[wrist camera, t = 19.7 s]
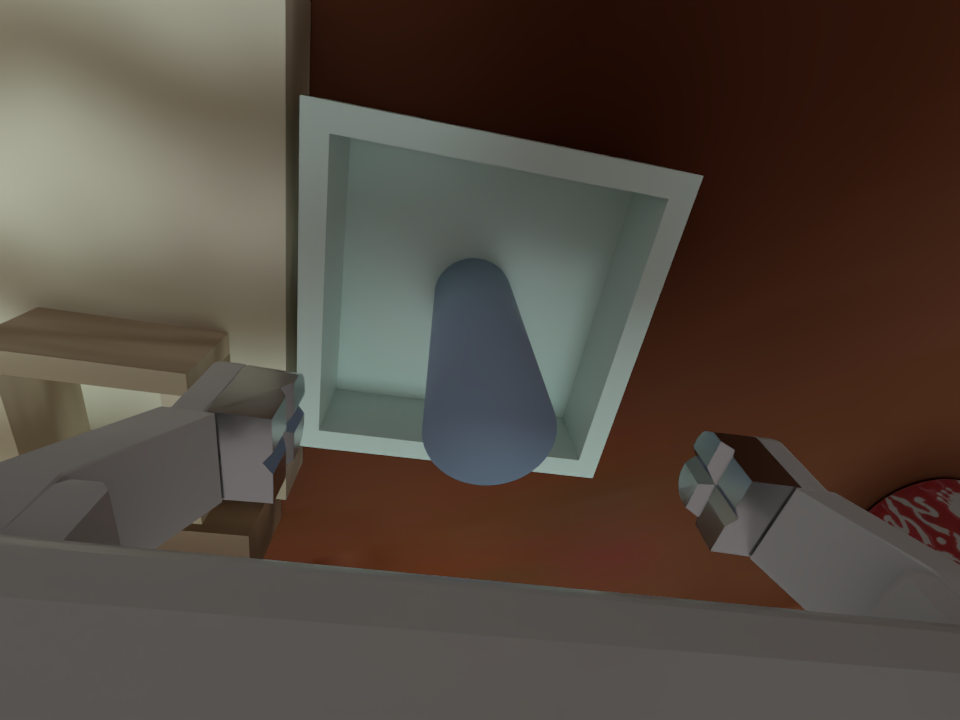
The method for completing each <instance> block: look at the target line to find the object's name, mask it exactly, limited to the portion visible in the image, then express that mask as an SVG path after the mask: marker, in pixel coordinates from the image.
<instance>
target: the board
mask: <svg viewBox="0 0 960 720" xmlns="http://www.w3.org/2000/svg"><path fill="white" fill-rule="evenodd" d="M310 31H311V1H310V0H0V462H1V461H4V460H7V459H10V458H13V457H16V456H19V455H22V454H25V453H27V452H30V451H33V450H36V449H39V448H42V447H45V446H48V445H51V444H54V443H56V442H59V441H62V440H65V439H68V438H71V437H74V436H77V435H80V434H82V433H85V432H88V431H91V430H94V429H97V428H100V427H103V426H106V425H108V424H111V423H114V422H117V421H120V420H123V419H126V418H129V417H132V416H135V415H137V414H140V413H143V412H146V411H149V410H152V409H155V408H158V407H161V406H164V407H172V406H173V405H174V404H175V402H176V401H177V400H178V399H179V398H180V397H181V396H182V395H183V394H184V393H185V392H186V391H187V390H188V389H189V388H190V387H191V386H192V385H193V384H194V383H195V382H196V381H197V380H198V379H199V378H200V377H201V376H202V375H203V374H204V373H205V372H206V371H207V370H208V369H209V367H210V366H211V365H212V364H213V363H215V362H218V361H224V362H232V363H240V364H246V365H252V366H258V367H264V368H271V369H277V370H283V371H289V372H296V373H297V308H298V211H299V115H300V95H305V96H309V85H310ZM302 462H303V446H299V450H298V452H297V454H296V457H295V459H294V461H292V462H290V463H289V464H287V465H286V478H285V480H284V482H283V484H282V487H281V489H280V491H279V493H278V495H277V497H276V499H283V500H286V499H287V496H288V494H289V492H290V490H291V487H292V485H293V483H294V481H295V478H296V476H297V474H298V471H299V469H300V467H301V465H302ZM210 511H211V510H210ZM210 511H209V512H210ZM209 512H207V513H206V514H204V515H203V516H201V517H200V518H199V519H197V520H196V521H194V522H193V523H192V524H202V523H203V522H204V520H205V519H206V517H207V515H208V514H209Z"/></svg>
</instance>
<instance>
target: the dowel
mask: <svg viewBox="0 0 960 720" xmlns="http://www.w3.org/2000/svg"><path fill="white" fill-rule="evenodd" d="M556 434H557V419H556V415H555V412H554V409H553V406H552V403H551V400H550V397H549V395H548V392H547V389H546V386H545V383H544V380H543V378H542V375H541V372H540V369H539V366H538V363H537V360H536V358H535V355H534V352H533V349H532V346H531V343H530V340H529V338H528V335H527V332H526V329H525V326H524V323H523V320H522V318H521V315H520V312H519V309H518V306H517V303H516V300H515V298H514V295H513V292H512V289H511V286H510V283H509V281H508V279H507V277H506V275H505V274H504V272H503V271H502V270H501V269H500V268H499V267H498V266H496V265H495V264H493V263H491V262H489V261H487V260H483V259H478V258H468V259H463V260H460V261H457V262H455V263H453V264H452V265H450V266H449V267H448V268H446V269H445V271H444V272H443V273H442V274H441V276H440V277H439V279H438V281H437V284H436V287H435V294H434V304H433V315H432V326H431V337H430V348H429V359H428V370H427V381H426V392H425V402H424V413H423V424H422V440H423V444H424V448H425V450H426V452H427V454H428V456H429V458H430V459H431V461H432V462H433V463H434V464H435V465H436V466H437V467H438V468H439V469H440V470H441V471H443V472H444V473H445V474H447V475H448V476H450V477H452V478H454V479H457V480H459V481H462V482H465V483H469V484H475V485H497V484H503V483H507V482H511V481H514V480H516V479H519V478H521V477H523V476H525V475H527V474H528V473H530V472H532V471H533V470H534V469H535V468H537V467H538V466H539V465H540V464H541V463H542V462H543V461H544V460H545V458H546V457H547V456H548V454H549V453H550V451H551V449H552V447H553V445H554V442H555V439H556Z"/></svg>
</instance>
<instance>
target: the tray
mask: <svg viewBox="0 0 960 720" xmlns="http://www.w3.org/2000/svg"><path fill="white" fill-rule="evenodd" d="M702 179H703V176H701V175H697V174H693V173H688V172H684V171H679V170H675V169H671V168H666V167H662V166H657V165H652V164H647V163H642V162H637V161H633V160H628V159H623V158H618V157H613V156H608V155H603V154H598V153H593V152H588V151H583V150H578V149H573V148H568V147H563V146H558V145H553V144H548V143H543V142H538V141H533V140H528V139H523V138H518V137H514V136H509V135H504V134H499V133H494V132H489V131H484V130H479V129H474V128H469V127H464V126H459V125H454V124H449V123H444V122H439V121H434V120H429V119H424V118H419V117H414V116H409V115H404V114H399V113H395V112H390V111H385V110H380V109H375V108H370V107H365V106H360V105H355V104H350V103H345V102H340V101H335V100H330V99H324V98H317V97H311V96H305V95H300V115H299V211H298V308H297V373H302V374H303V376H304V379H305V394H304V396H303V398H302V400H301V402H300V404H299V407H300V408H301V409H302V411H303V412H304V427H303V435H302V439H301V443H300V446H306V447H315V448H324V449H334V450H343V451H352V452H361V453H370V454H379V455H388V456H397V457H406V458H415V459H424V460H431V459H430V458H429V456H428V454H427V452H426V450H425V448H424V444H423V440H422V424H423V413H424V402H425V392H426V381H427V370H428V359H429V348H430V337H431V326H432V315H433V304H434V294H435V287H436V284H437V281H438V279H439V277H440V276H441V274H442V273H443V272H444V271H445V269H446V268H448V267H449V266H450V265H452V264H453V263H455V262H457V261H460V260H463V259H468V258H478V259H483V260H487V261H489V262H491V263H493V264H495V265H496V266H498V267H499V268H500V269H501V270H502V271H503V272H504V274H505V275H506V277H507V279H508V281H509V283H510V286H511V289H512V292H513V295H514V298H515V300H516V303H517V306H518V309H519V312H520V315H521V318H522V320H523V323H524V326H525V329H526V332H527V335H528V338H529V340H530V343H531V346H532V349H533V352H534V355H535V358H536V360H537V363H538V366H539V369H540V372H541V375H542V378H543V380H544V383H545V386H546V389H547V392H548V395H549V397H550V400H551V403H552V406H553V409H554V412H555V415H556V419H557V434H556V439H555V442H554V445H553V447H552V449H551V451H550V453H549V454H548V456H547V457H546V458H545V460H544V461H543V462H542V463H541V464H540V465H539V466H538V467H537V468H535V469H534V470H533V471H532V472H541V473H550V474H559V475H568V476H577V477H586V478H593V476H594V473H595V470H596V467H597V465H598V462H599V459H600V457H601V454H602V451H603V448H604V446H605V443H606V440H607V437H608V435H609V432H610V429H611V427H612V424H613V421H614V418H615V416H616V413H617V410H618V408H619V405H620V402H621V399H622V397H623V394H624V391H625V388H626V386H627V383H628V380H629V378H630V375H631V372H632V369H633V367H634V364H635V361H636V359H637V356H638V353H639V350H640V348H641V345H642V342H643V339H644V337H645V334H646V331H647V329H648V326H649V323H650V320H651V318H652V315H653V312H654V309H655V307H656V304H657V301H658V299H659V296H660V293H661V290H662V288H663V285H664V282H665V280H666V277H667V274H668V271H669V269H670V266H671V263H672V260H673V258H674V255H675V252H676V250H677V247H678V244H679V241H680V239H681V236H682V233H683V230H684V228H685V225H686V222H687V220H688V217H689V214H690V211H691V209H692V206H693V203H694V201H695V198H696V195H697V192H698V190H699V187H700V184H701V181H702Z"/></svg>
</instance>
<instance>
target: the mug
mask: <svg viewBox="0 0 960 720" xmlns="http://www.w3.org/2000/svg"><path fill="white" fill-rule="evenodd" d="M868 512H869V513H871V514H873V515H875V516H876V517H878V518H880V519H882V520H883V521H885V522H887V523H888V524H890V525H892V526H894V527H895V528H897V529H899V530H901V531H902V532H904V533H906V534H908V535H909V536H911V537H913V538H914V539H916V540H918V541H920V542H921V543H923V544H925V545H927V546H928V547H930V548H932V549H934V550H935V551H937V552H939V553H940V554H942V555H944V556H946V557H947V558H949V559H951V560H953V561H954V562H956V563H958V564H960V480H954V479H937V480H930V481H925V482H921V483H918V484H914V485H911V486H909V487H906V488H904V489H901V490H899V491H897V492H895V493H893V494H891V495H890V496H888V497H886V498H885V499H883V500H882V501H880V502H879V503H878V504H876V505H875V506H874V507H873V508H872V509H870V510H869V511H868Z"/></svg>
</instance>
